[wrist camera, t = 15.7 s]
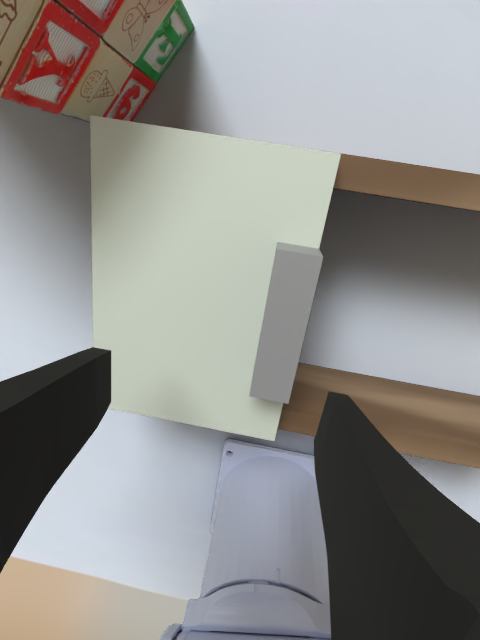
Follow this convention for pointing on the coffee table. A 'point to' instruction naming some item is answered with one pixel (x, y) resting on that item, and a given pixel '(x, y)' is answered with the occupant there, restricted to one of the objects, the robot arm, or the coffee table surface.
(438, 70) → the coffee table surface
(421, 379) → the coffee table surface
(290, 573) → the robot arm
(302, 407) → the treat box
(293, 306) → the lid
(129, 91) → the stack of blocks
